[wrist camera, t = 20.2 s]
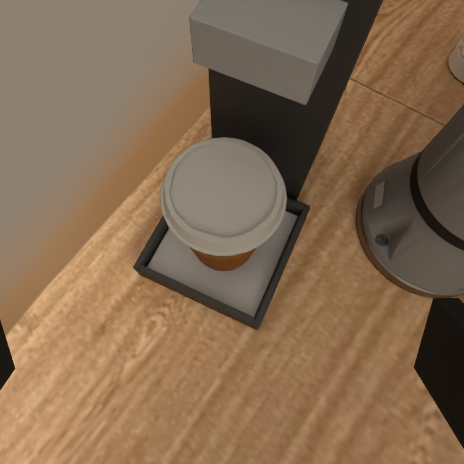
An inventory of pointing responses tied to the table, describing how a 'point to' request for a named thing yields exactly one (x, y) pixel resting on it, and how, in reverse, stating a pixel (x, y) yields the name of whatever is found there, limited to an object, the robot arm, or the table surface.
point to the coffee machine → (264, 125)
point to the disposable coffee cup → (223, 200)
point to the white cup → (457, 60)
